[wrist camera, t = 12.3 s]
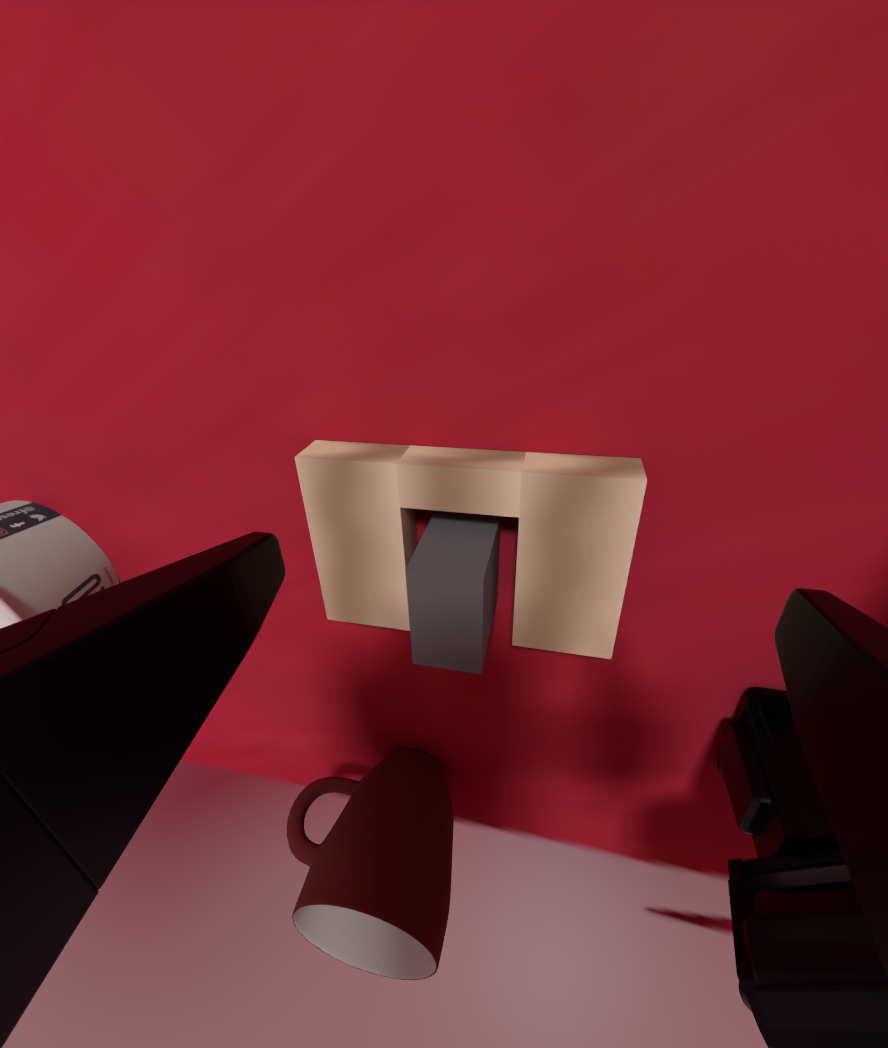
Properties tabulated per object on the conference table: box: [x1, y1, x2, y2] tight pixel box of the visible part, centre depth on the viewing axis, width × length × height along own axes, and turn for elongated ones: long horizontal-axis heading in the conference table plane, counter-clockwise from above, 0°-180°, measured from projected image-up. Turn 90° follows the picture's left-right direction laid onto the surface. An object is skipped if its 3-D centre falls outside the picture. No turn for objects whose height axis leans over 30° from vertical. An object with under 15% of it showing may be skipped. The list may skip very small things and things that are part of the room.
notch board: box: [295, 440, 647, 659], centre depth 22 cm, size 14×9×2 cm, turn 92°
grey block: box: [405, 510, 501, 675], centre depth 21 cm, size 3×5×5 cm, turn 1°
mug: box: [287, 749, 453, 980], centre depth 29 cm, size 10×8×10 cm
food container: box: [0, 501, 119, 628], centre depth 28 cm, size 12×12×6 cm
